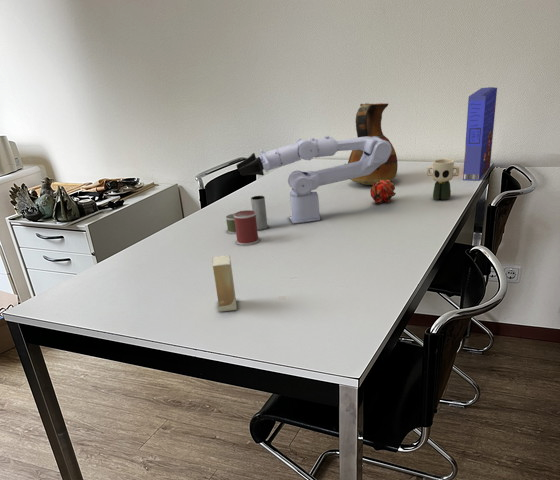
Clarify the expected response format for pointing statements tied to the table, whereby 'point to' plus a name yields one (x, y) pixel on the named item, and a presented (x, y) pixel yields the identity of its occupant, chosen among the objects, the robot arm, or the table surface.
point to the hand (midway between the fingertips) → (238, 170)
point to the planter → (259, 211)
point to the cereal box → (479, 133)
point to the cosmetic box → (224, 283)
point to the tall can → (246, 227)
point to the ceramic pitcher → (371, 126)
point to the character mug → (442, 177)
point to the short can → (231, 223)
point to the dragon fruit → (382, 191)
